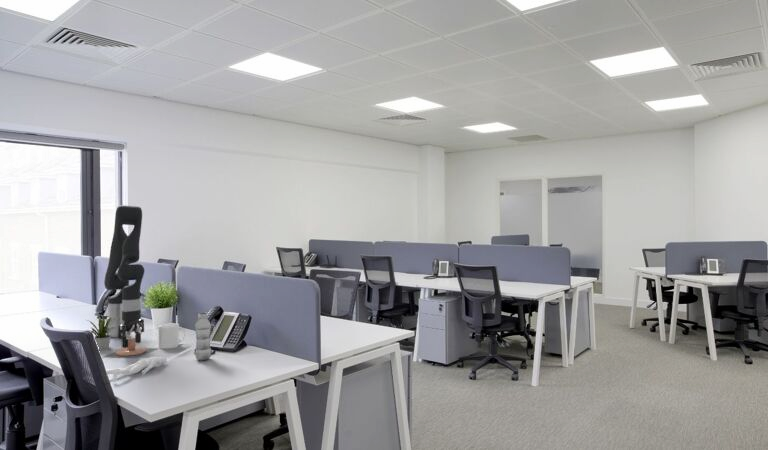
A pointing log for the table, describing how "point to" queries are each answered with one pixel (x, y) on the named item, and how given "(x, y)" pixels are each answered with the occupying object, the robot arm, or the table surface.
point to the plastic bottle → (202, 337)
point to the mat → (148, 350)
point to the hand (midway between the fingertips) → (131, 345)
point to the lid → (131, 349)
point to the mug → (169, 335)
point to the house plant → (102, 333)
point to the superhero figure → (138, 366)
